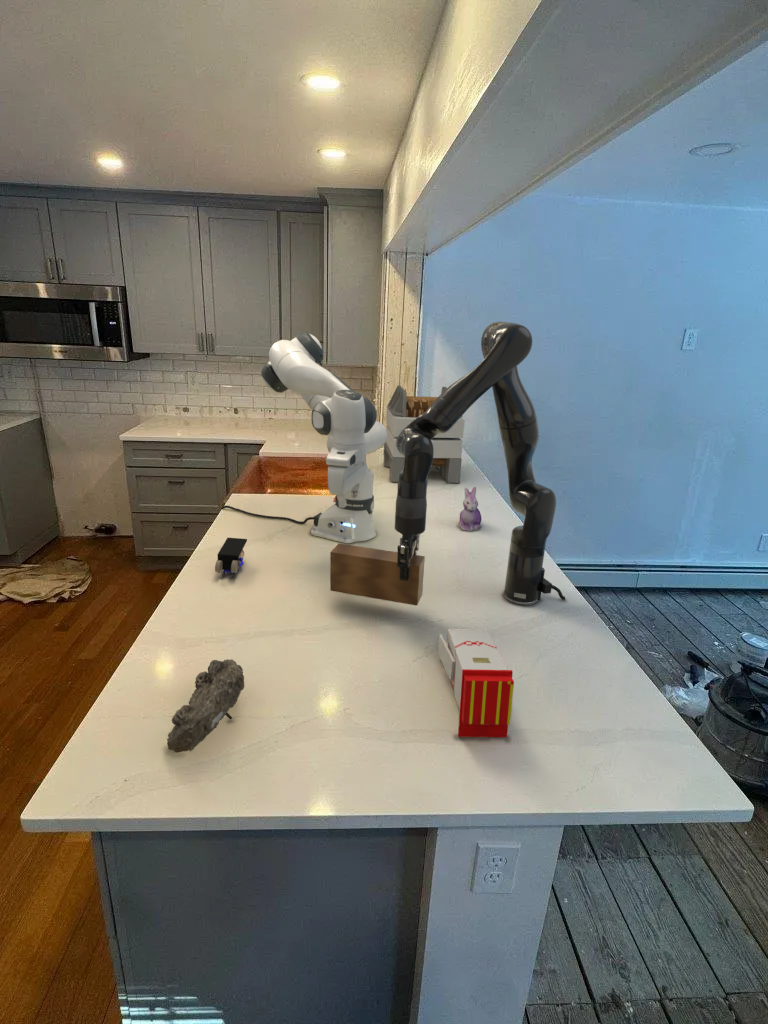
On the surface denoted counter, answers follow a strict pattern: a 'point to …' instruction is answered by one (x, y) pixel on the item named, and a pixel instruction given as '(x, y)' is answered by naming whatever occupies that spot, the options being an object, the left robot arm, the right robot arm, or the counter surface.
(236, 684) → the fossil
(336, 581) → the box
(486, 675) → the toy
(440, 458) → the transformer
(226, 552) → the black toy vehicle
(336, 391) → the left robot arm
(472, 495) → the figurine
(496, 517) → the counter surface
